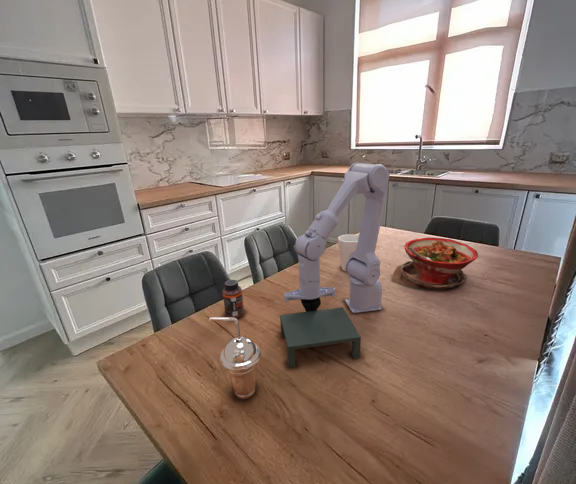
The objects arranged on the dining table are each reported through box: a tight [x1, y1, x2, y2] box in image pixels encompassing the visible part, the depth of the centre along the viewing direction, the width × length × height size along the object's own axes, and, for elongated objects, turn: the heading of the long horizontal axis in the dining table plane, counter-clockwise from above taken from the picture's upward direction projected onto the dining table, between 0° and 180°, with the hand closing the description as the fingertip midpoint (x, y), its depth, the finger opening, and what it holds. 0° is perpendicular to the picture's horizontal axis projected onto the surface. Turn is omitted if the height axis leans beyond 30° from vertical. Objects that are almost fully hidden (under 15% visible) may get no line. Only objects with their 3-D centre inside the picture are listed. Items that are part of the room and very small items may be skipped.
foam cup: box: [337, 233, 359, 272], centre depth 124 cm, size 10×9×13 cm
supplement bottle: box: [222, 279, 245, 319], centre depth 96 cm, size 6×6×11 cm
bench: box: [279, 306, 362, 369], centre depth 82 cm, size 18×14×6 cm
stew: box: [392, 237, 479, 292], centre depth 111 cm, size 28×24×16 cm
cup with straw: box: [208, 316, 262, 400], centre depth 66 cm, size 8×9×20 cm
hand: (310, 319), depth 91 cm, fingers closed, pressing on bench, pastry
